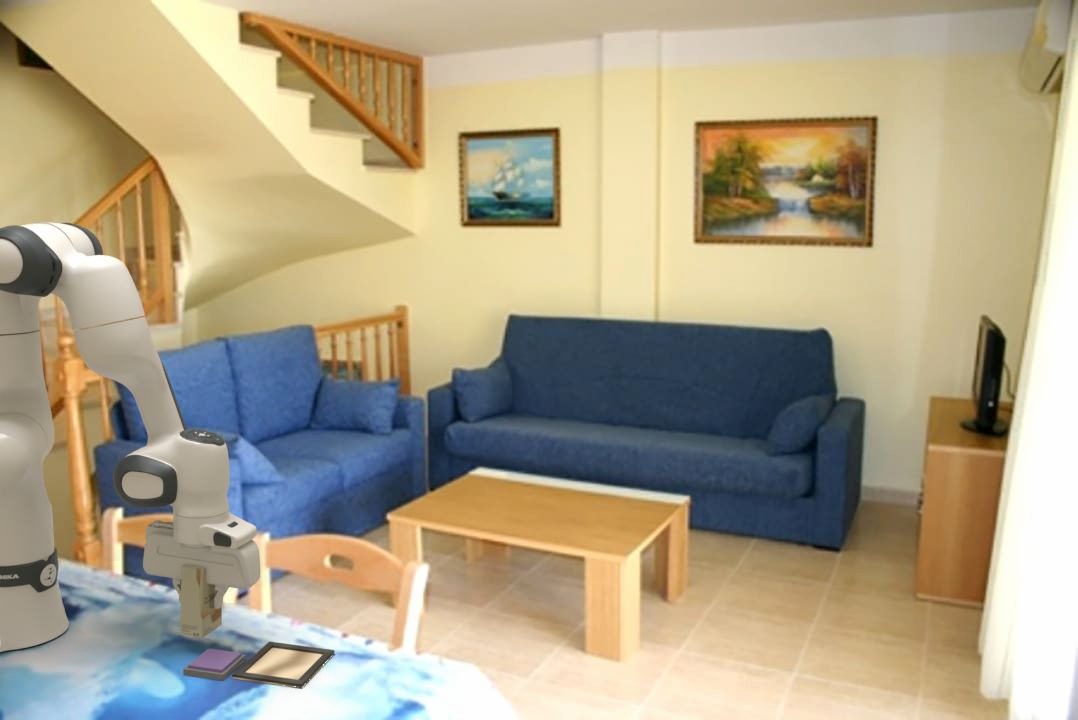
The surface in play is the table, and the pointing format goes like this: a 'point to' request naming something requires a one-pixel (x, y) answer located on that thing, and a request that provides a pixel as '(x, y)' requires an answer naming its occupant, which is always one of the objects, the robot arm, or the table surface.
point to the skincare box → (197, 603)
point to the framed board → (283, 664)
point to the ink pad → (215, 664)
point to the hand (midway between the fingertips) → (200, 604)
